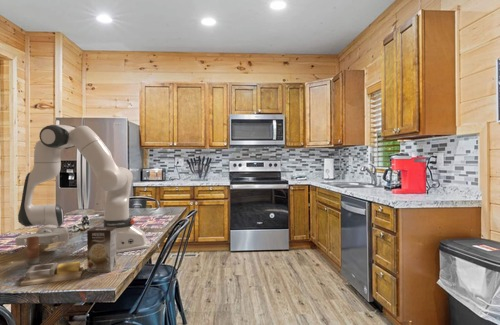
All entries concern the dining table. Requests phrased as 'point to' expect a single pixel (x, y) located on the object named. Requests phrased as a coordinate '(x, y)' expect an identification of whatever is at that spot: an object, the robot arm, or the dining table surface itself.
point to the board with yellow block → (52, 273)
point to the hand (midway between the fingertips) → (39, 242)
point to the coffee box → (101, 249)
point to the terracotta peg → (32, 251)
